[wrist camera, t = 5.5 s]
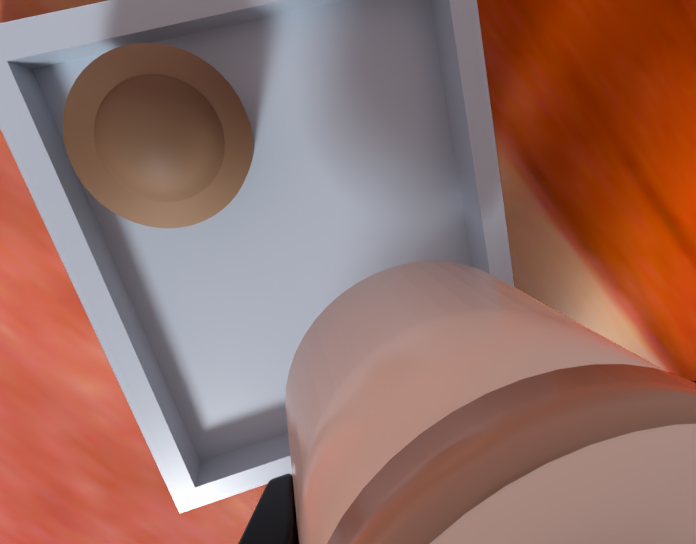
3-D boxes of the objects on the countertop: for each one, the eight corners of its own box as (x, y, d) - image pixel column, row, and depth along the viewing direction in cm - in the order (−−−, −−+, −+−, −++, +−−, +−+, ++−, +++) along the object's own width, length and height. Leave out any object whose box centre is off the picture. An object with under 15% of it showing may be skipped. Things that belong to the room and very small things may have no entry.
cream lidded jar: (558, 456, 11) (986, 901, 5) (324, 540, 11) (433, 1202, 4) (530, 223, 9) (1183, 410, 3) (244, 308, 9) (197, 821, 2)
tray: (503, 371, 18) (528, 394, 17) (187, 476, 17) (179, 513, 15) (440, -49, 14) (466, -76, 12) (-3, 47, 12) (-45, 32, 11)
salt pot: (269, 189, 14) (274, 207, 10) (142, 223, 14) (95, 256, 10) (230, 53, 13) (216, 13, 9) (88, 86, 12) (8, 59, 8)
